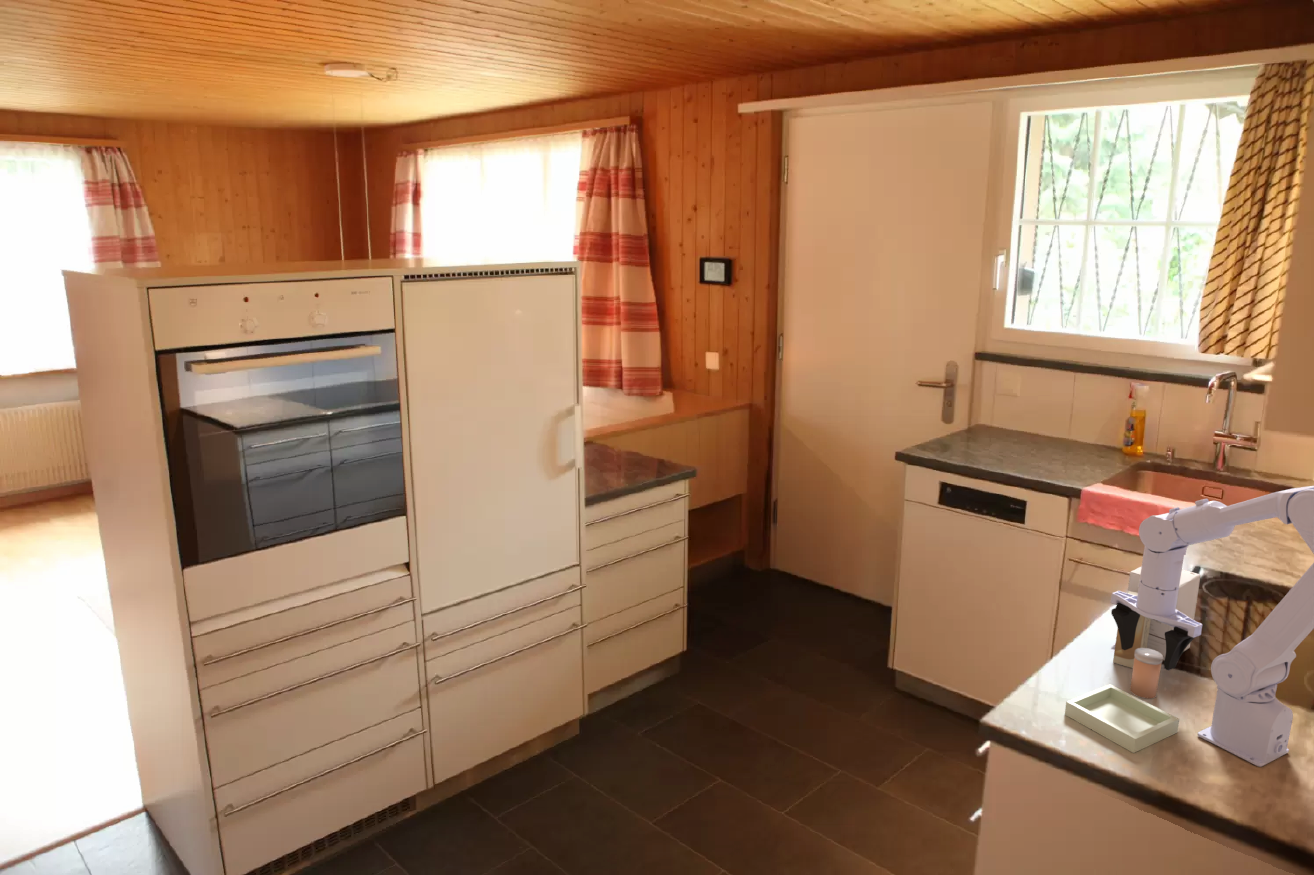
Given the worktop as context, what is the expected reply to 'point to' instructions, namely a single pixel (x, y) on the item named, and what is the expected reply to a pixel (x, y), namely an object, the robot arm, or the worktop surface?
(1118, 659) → the skincare box
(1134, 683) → the shaker
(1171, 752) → the worktop surface
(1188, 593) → the supplement box
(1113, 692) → the tray
